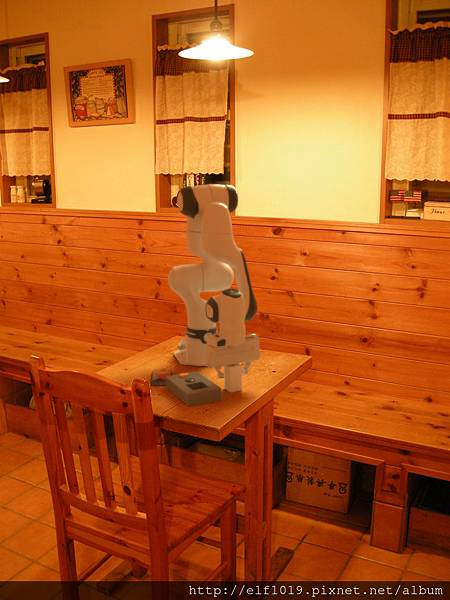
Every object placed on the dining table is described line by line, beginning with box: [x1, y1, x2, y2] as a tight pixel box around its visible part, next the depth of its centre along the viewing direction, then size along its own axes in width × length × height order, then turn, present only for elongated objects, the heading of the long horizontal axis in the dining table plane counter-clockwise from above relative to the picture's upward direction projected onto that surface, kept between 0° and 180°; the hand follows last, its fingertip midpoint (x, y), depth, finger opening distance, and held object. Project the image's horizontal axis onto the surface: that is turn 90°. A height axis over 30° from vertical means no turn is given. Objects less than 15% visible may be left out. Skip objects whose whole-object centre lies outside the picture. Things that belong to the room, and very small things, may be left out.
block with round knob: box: [223, 363, 243, 393], centre depth 215 cm, size 4×4×10 cm
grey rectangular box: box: [165, 370, 222, 407], centre depth 212 cm, size 20×12×5 cm, turn 27°
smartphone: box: [150, 369, 173, 387], centre depth 227 cm, size 7×15×1 cm, turn 4°
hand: (232, 375), depth 215 cm, fingers open, 8 cm apart
